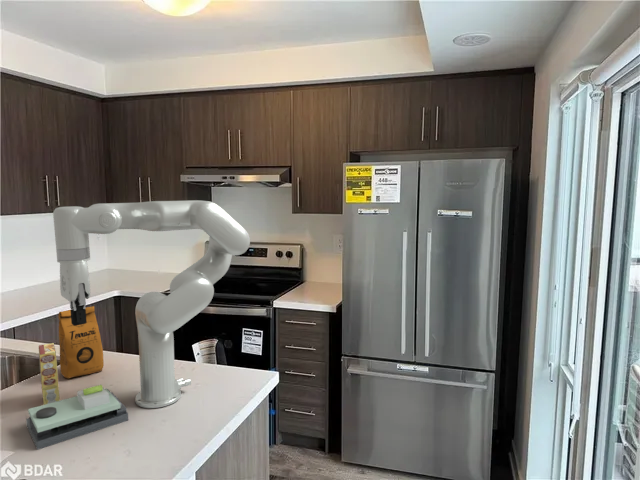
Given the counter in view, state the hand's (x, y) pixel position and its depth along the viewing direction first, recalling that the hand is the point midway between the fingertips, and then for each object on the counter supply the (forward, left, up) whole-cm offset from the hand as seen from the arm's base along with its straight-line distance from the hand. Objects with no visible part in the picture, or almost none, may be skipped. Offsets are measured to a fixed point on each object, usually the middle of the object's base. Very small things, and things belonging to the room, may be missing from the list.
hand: (79, 323), depth 120 cm
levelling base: (+2, +2, -26) cm, 26 cm away
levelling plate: (+2, +2, -23) cm, 23 cm away
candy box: (+5, -18, -26) cm, 32 cm away
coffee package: (-7, -32, -26) cm, 42 cm away
